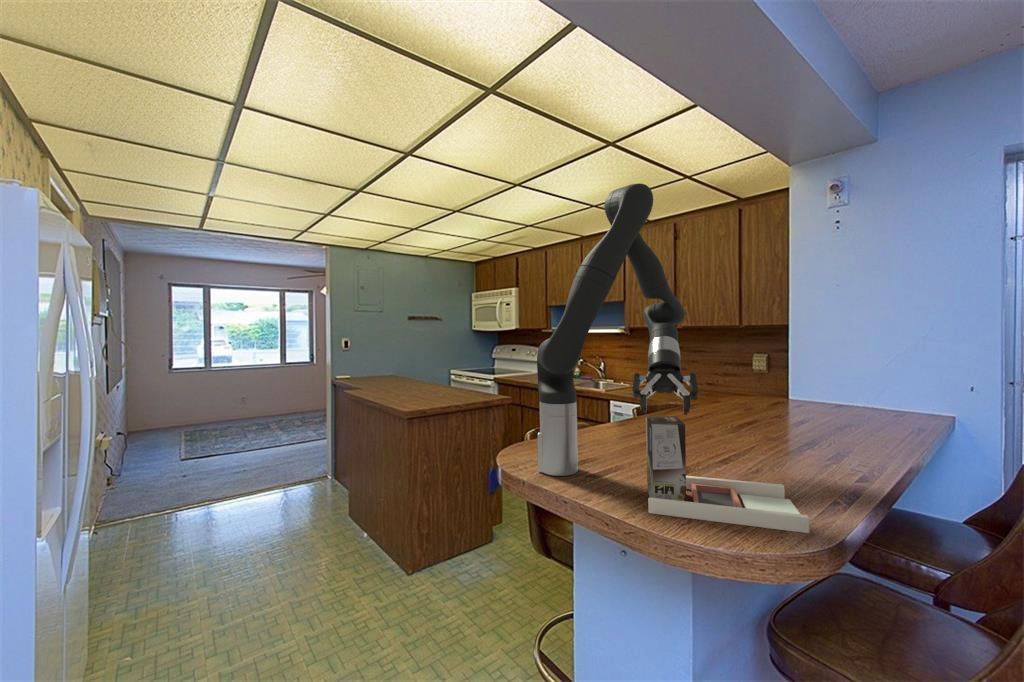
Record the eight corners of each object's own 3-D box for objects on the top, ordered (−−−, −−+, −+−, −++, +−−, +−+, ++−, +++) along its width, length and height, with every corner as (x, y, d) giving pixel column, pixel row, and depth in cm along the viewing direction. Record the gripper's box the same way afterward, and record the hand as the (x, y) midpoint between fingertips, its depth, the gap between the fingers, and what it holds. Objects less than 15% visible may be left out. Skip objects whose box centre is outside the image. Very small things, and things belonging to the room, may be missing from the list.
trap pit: (695, 515, 74) (694, 506, 74) (691, 490, 87) (691, 483, 87) (744, 521, 72) (744, 512, 72) (733, 494, 84) (733, 487, 84)
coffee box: (688, 509, 77) (686, 424, 77) (652, 507, 78) (650, 423, 78) (678, 491, 86) (676, 415, 86) (646, 489, 87) (645, 414, 87)
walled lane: (648, 513, 76) (648, 499, 76) (652, 483, 91) (651, 472, 91) (809, 533, 67) (808, 518, 67) (783, 496, 82) (782, 484, 82)
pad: (750, 520, 72) (750, 518, 72) (739, 496, 83) (739, 494, 83) (809, 527, 69) (809, 525, 69) (789, 501, 80) (789, 499, 80)
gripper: (633, 348, 102) (630, 400, 91) (695, 347, 97) (700, 402, 86) (635, 368, 107) (633, 420, 96) (694, 368, 102) (699, 423, 91)
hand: (664, 411), depth 91 cm, fingers open, 8 cm apart
